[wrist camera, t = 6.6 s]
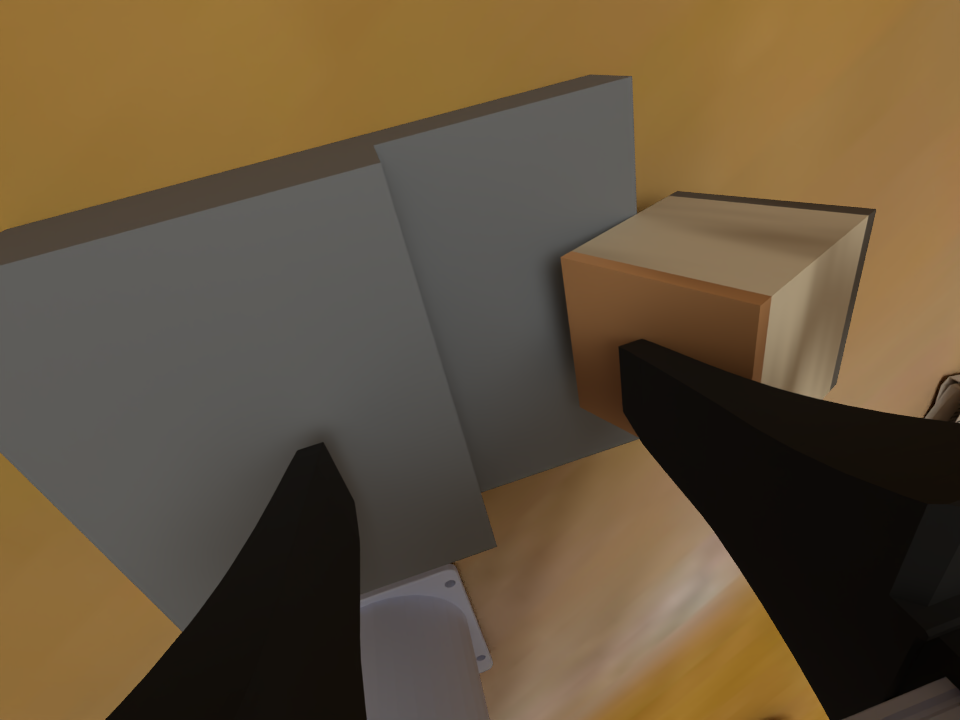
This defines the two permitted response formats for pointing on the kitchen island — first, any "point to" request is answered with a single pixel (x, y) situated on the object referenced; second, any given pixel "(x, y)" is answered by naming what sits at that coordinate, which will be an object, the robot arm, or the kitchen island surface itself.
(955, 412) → the newspaper
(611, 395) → the maple cube
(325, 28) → the kitchen island surface
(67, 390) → the slate step stand
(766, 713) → the kitchen island surface
